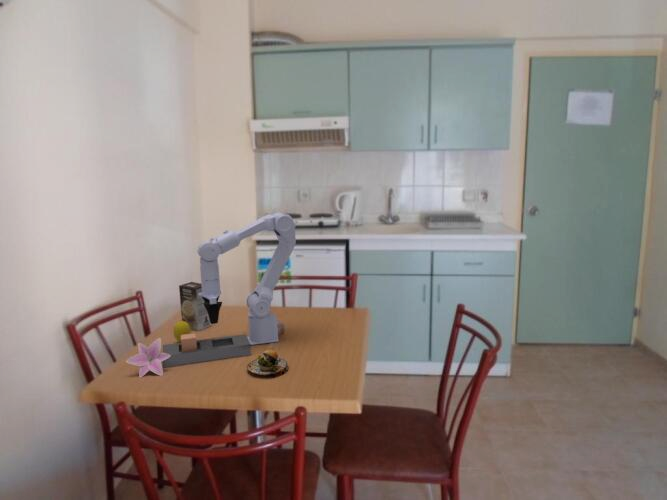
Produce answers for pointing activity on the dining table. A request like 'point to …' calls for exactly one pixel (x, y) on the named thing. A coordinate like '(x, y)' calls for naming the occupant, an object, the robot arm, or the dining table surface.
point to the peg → (188, 342)
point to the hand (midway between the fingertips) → (213, 319)
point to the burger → (268, 364)
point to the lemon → (181, 330)
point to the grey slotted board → (207, 350)
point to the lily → (149, 358)
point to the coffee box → (193, 306)
